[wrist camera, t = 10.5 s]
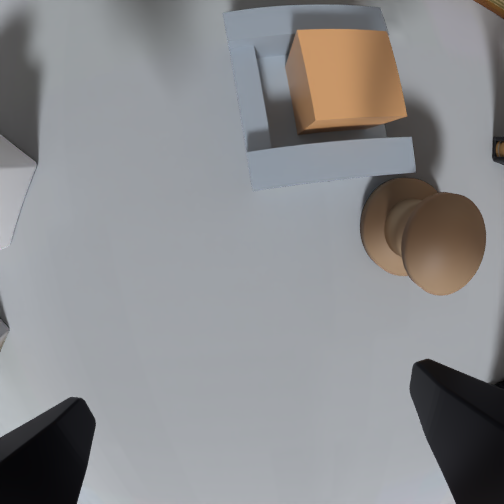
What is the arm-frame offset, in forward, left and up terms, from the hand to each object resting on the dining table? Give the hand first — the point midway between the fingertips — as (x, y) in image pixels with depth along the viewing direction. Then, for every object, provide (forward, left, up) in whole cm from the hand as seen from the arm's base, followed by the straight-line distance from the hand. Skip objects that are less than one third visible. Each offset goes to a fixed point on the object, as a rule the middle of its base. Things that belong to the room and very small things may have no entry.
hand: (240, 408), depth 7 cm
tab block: (+9, -6, -11) cm, 15 cm away
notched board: (+9, -5, -12) cm, 16 cm away
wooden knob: (+1, -10, -12) cm, 16 cm away
